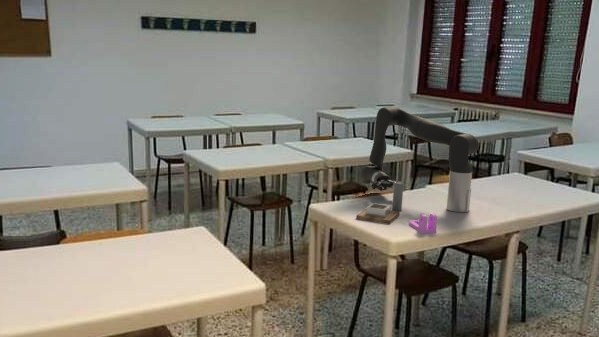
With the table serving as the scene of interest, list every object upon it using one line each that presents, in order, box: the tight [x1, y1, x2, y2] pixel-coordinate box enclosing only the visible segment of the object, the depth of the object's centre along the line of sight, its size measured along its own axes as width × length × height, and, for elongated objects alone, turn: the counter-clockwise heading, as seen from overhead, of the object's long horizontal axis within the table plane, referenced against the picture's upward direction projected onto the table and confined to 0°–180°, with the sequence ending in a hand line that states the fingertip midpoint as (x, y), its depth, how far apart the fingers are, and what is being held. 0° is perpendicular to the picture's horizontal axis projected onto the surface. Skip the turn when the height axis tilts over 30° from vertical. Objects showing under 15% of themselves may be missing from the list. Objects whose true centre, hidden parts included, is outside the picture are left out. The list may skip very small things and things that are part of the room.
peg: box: [391, 181, 404, 213], centre depth 232 cm, size 4×4×12 cm
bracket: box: [408, 213, 438, 235], centre depth 210 cm, size 13×6×7 cm, turn 17°
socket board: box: [355, 202, 400, 225], centre depth 222 cm, size 14×14×4 cm
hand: (391, 188), depth 242 cm, fingers open, 8 cm apart
